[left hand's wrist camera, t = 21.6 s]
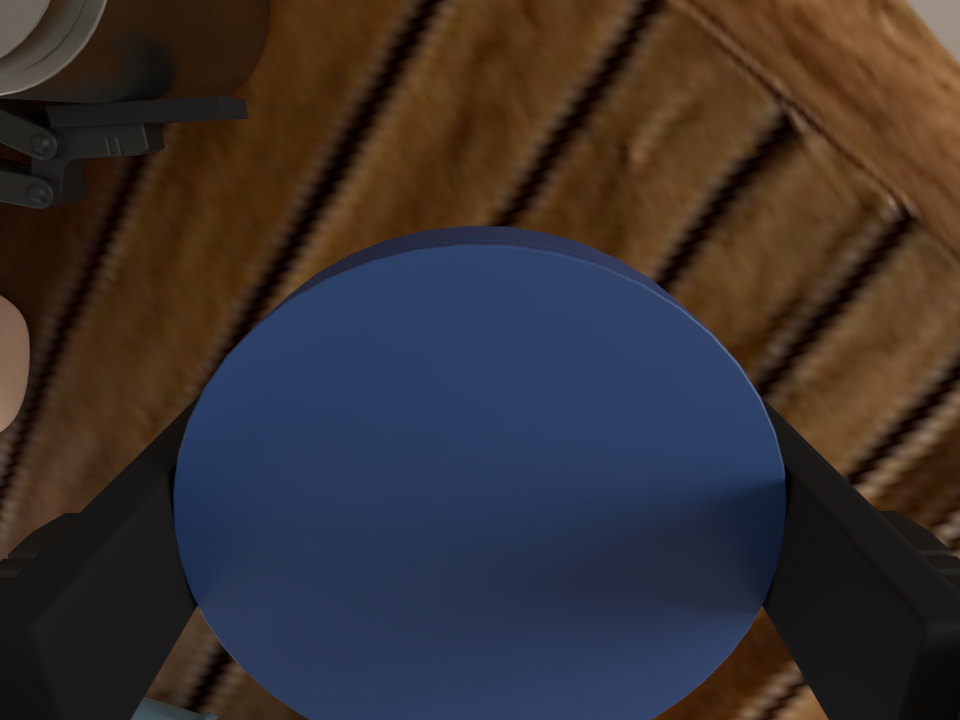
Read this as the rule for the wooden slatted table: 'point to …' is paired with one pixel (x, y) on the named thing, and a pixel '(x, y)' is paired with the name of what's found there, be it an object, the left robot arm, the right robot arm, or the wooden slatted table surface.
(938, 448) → the wooden slatted table surface
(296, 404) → the lid
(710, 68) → the wooden slatted table surface
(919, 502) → the wooden slatted table surface
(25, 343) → the anatomical model
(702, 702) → the wooden slatted table surface
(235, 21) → the jar
